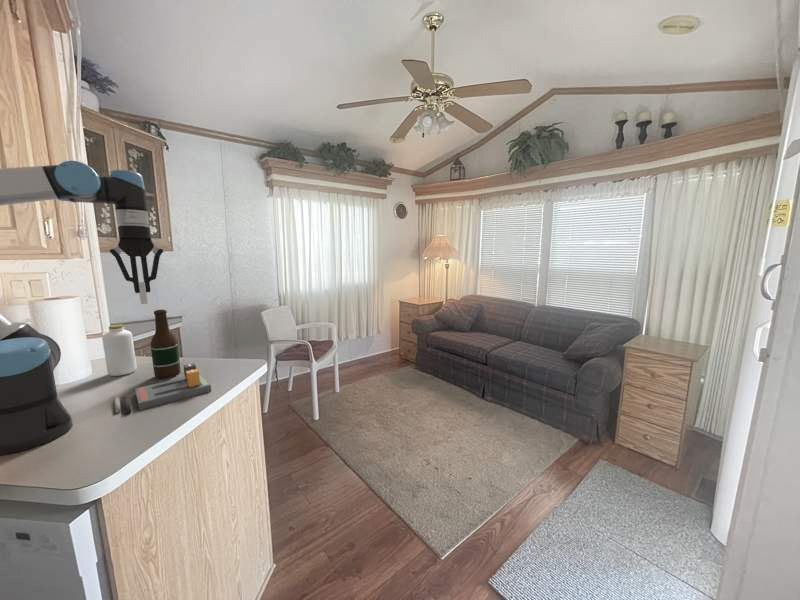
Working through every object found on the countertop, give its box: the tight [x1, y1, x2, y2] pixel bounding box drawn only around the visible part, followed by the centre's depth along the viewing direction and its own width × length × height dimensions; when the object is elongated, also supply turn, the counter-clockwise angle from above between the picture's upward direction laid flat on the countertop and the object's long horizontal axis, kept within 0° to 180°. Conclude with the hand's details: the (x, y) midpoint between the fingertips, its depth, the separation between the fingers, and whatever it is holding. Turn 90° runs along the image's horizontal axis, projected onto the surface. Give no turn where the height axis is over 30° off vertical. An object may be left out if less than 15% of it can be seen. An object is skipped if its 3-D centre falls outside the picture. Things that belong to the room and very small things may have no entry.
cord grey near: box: [113, 396, 122, 414], centre depth 94 cm, size 11×1×1 cm, turn 42°
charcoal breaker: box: [183, 362, 197, 380], centre depth 109 cm, size 3×3×4 cm
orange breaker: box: [186, 368, 200, 387], centre depth 103 cm, size 3×3×5 cm
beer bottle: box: [150, 309, 181, 380], centre depth 117 cm, size 8×8×24 cm
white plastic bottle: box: [101, 324, 138, 377], centre depth 120 cm, size 8×8×18 cm
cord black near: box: [122, 395, 132, 415], centre depth 94 cm, size 13×1×1 cm, turn 42°
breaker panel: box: [134, 373, 212, 411], centre depth 103 cm, size 18×14×2 cm
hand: (144, 303), depth 101 cm, fingers closed
